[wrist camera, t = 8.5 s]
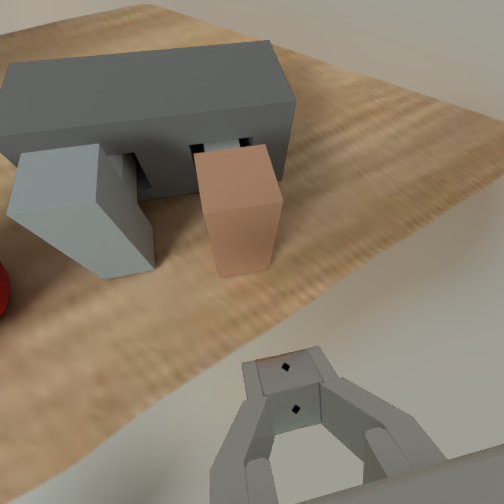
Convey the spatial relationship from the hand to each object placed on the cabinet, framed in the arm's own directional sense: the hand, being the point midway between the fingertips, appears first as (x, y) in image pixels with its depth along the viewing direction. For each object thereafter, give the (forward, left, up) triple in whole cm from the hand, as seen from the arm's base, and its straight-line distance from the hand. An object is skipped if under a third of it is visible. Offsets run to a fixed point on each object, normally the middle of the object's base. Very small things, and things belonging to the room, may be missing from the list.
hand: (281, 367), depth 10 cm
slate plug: (-2, +16, -9) cm, 19 cm away
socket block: (+4, +20, -9) cm, 23 cm away
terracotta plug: (+5, +11, -9) cm, 15 cm away
